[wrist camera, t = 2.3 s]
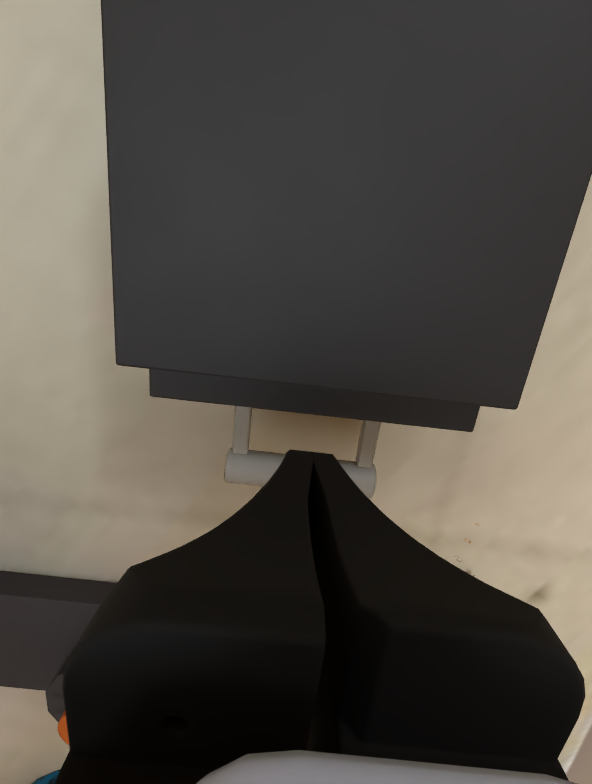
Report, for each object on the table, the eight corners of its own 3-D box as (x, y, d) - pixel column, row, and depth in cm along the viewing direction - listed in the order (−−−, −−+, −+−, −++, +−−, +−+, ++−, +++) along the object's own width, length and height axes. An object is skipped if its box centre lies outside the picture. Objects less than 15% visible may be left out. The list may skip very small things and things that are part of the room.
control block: (-13, 670, 27) (-57, 727, 24) (-35, 567, 24) (-88, 615, 21) (173, 689, 28) (154, 747, 24) (174, 588, 25) (153, 640, 21)
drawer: (398, 452, 20) (442, 542, 14) (200, 431, 20) (150, 511, 14) (484, 62, 15) (623, -93, 8) (213, 28, 15) (141, -157, 8)
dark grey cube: (427, 347, 19) (517, 411, 11) (196, 321, 19) (114, 365, 11) (505, 3, 15) (748, -311, 7) (205, -35, 15) (81, -405, 7)
